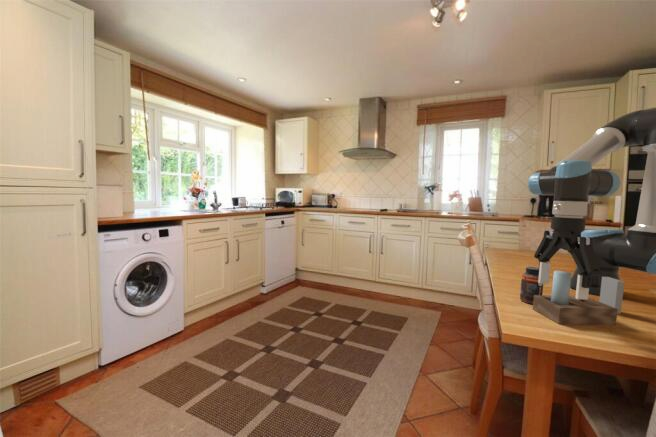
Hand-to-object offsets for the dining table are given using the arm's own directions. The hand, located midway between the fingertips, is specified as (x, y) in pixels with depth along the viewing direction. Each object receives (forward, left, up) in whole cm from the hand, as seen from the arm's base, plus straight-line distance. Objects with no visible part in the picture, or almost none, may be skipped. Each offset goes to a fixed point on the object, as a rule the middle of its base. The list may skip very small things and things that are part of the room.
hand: (560, 290), depth 85 cm
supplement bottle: (0, -12, -8) cm, 14 cm away
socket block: (-4, 0, -8) cm, 9 cm away
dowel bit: (0, 0, -8) cm, 8 cm away
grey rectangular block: (-20, -5, -8) cm, 22 cm away
